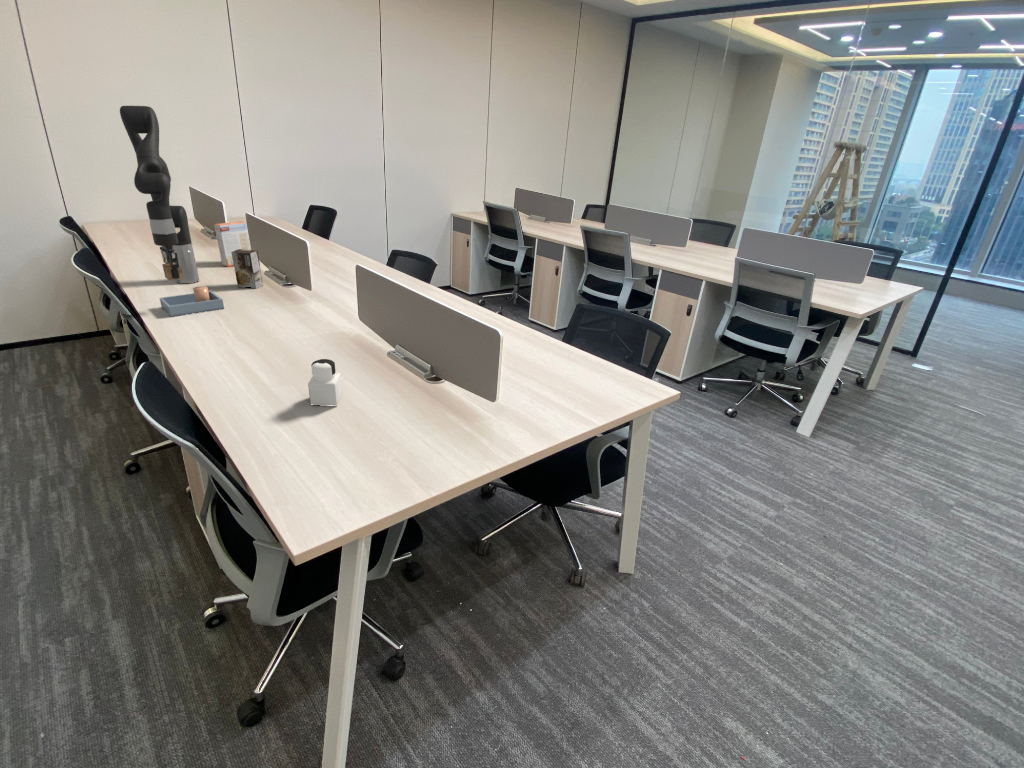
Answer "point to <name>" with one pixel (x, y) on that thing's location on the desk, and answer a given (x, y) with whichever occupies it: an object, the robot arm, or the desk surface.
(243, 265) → the coffee box
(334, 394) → the white blocky figurine
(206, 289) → the tan capsule
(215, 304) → the tote
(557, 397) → the desk surface
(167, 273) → the walnut cube
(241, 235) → the cracker box
